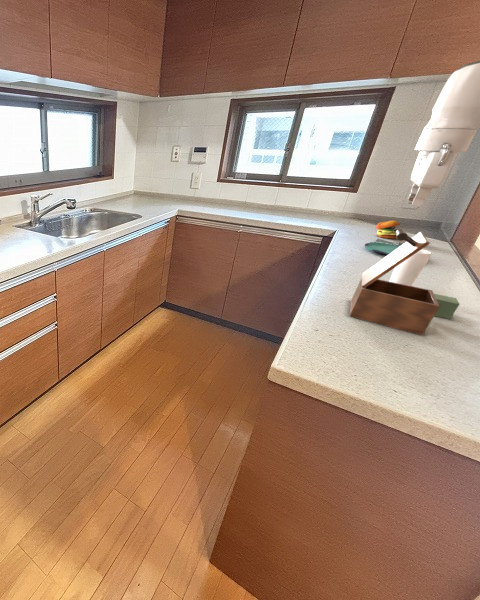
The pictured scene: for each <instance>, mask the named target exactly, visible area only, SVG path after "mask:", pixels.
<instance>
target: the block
mask: <svg viewBox="0 0 480 600" xmlns="http://www.w3.org/2000/svg"><path fill="white" fill-rule="evenodd" d="M434 295H435V298H436V300H437V302H438V304H439V306H440V307H439V308H438V310H437V312H436V313H435V315H434V317H439V318H443V319H448V320H451V319H452V317H453V316H454V314H455V312H456V311H457V309H458V307H459V306H460V302H459V300H458V299H457V298H456V297H452V296H447V295H444V294H443V295H442V294H437V293H434Z"/></svg>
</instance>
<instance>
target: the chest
mask: <svg viewBox="0 0 480 600" xmlns="http://www.w3.org/2000/svg"><path fill="white" fill-rule="evenodd" d="M389 281H390V280H384V279H380V278H379V279H377V280H376V281H374V282H373V283H371V284H370V285H369V286H367V287H366V288H363V287H362V277H361V278H360V280H359V282H358V284H357V286H356V288H355V291H354V293H353V295H352V297H351V299H350V306H349V317H350V318H354V319H358V320H363V321H366V322H370V323H374V324H377V325H382V326H385V327H389V328H392V329H397V330H400V331H404V332H408V333H412V334H415V335H418V336H423V335H424V333H425V332H426V330H427V328H428V327H429V324H430V323H431V322H432V320H433V319H434V317H435V316H434V315H435V313H436V312H437V310H438V308H439V307H440V306H439V304H438V302H437V300H436V298H435V295H434V294H435V293H434V291H433V289H428V288H423V287H418V286H413V285H412V286H409V285H404V284H399V283H394V282H389Z"/></svg>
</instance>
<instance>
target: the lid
mask: <svg viewBox="0 0 480 600" xmlns="http://www.w3.org/2000/svg"><path fill="white" fill-rule="evenodd" d="M395 234H396V237H397V239H398V241H405V242H404V243H403V245H401V246H400V247H398V248H397V249H396V250H394V251H393V252H391V253H390V254H389V255H387V254H386V256H384V257H383V258H382V259H380V260H379V261H377V262H376V263H375V264H372V265H371V267H369V268H368V269H366V270H365V271H364V272H362V273H361V278H362V287H363V288H366V287H367V286H369V285H370V284H371V283H373V282H374V281H376V280H377V279H380V278H382V277H383V276H385V275H386V274H388V273H389V272H391V271H392V270H394V268H395V267H396V266H398V265H399V264H401V263H402V262H404V261H405V260H407V259H408V258H410V257H411V256H412V255H414V254H415V253H417V252H418V251H420V250H421V249H423V250H424V248H426V247H428V246H429V245H430V242H429V240H428V239H427V238H426V236H425V234H424V233H423V232H422V231H419V232H418V233H417V234H415V235H414V236H412V237H410V236H409V235H408V233H407V231H406V230H405V229H403V228H399V230H397V231H396V233H395ZM397 239H396V240H397Z"/></svg>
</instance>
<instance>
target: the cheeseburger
mask: <svg viewBox="0 0 480 600" xmlns="http://www.w3.org/2000/svg"><path fill="white" fill-rule="evenodd" d="M397 226H400V222H398V221H397V220H396V219H395V220H388V221H380V222H379V223H377V225H376V226H375V229H377V232H376V236H377V237H379V238H380V239H393V240H398V239H397V237H396V234H395V233H396V231H397V230H399V229H400V228H399V229H398V228H397ZM398 241H399V240H398Z"/></svg>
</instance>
